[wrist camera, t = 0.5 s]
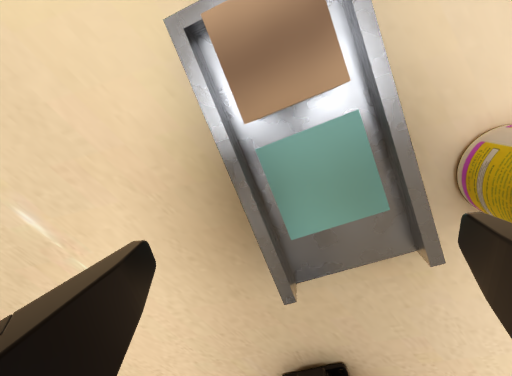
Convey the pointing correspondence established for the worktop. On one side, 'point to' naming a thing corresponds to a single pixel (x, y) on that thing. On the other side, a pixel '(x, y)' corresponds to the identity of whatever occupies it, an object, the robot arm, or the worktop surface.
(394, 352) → the worktop surface
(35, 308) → the robot arm
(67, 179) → the worktop surface
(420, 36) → the worktop surface
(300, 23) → the walnut block
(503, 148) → the supplement bottle
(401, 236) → the shallow metal tray
